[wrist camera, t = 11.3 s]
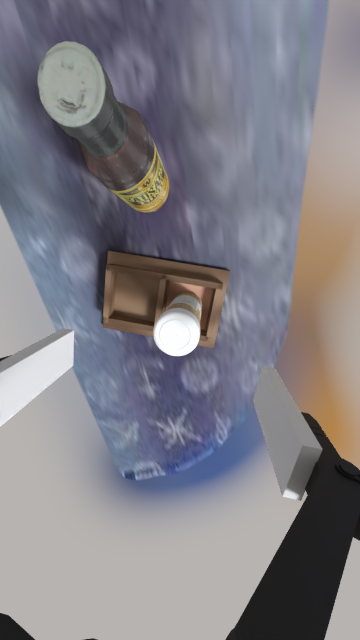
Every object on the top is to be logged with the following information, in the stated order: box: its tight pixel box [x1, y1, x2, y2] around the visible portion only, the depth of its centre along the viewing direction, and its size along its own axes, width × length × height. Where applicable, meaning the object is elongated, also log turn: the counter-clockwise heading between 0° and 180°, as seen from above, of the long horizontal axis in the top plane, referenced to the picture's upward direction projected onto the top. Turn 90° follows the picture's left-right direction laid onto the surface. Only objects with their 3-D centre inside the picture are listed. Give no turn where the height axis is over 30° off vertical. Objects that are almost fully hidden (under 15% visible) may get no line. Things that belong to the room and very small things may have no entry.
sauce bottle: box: [37, 41, 169, 213], centre depth 22 cm, size 6×6×20 cm
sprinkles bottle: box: [153, 291, 202, 356], centre depth 28 cm, size 5×5×14 cm
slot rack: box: [103, 251, 230, 348], centre depth 34 cm, size 12×18×3 cm, turn 81°
